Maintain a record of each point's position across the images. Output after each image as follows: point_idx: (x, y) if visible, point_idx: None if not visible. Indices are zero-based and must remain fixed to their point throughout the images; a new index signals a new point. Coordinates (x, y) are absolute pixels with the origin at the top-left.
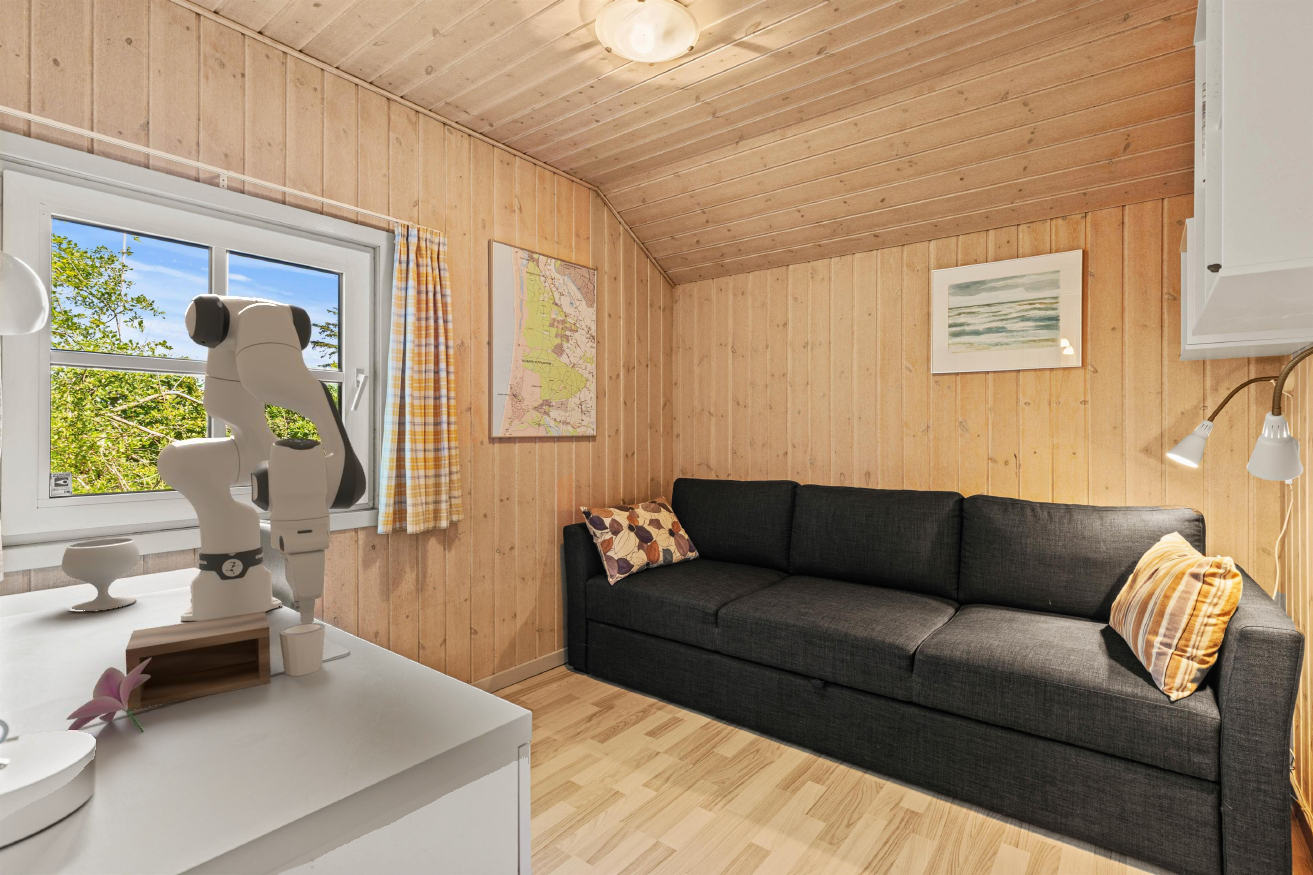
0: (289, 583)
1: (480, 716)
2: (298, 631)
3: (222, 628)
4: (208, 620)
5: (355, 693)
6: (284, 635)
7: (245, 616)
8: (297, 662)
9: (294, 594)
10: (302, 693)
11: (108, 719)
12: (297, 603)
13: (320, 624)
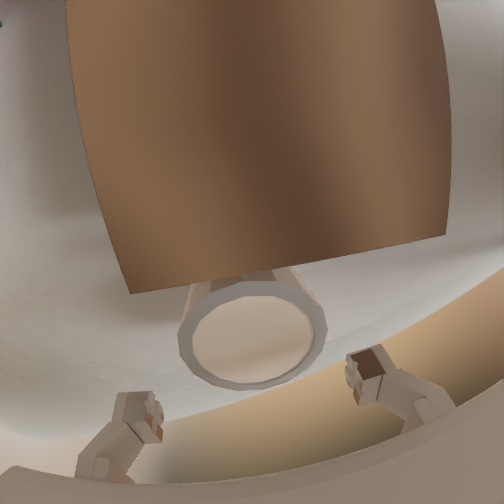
0: (327, 486)
1: (11, 423)
2: (226, 337)
3: (206, 57)
4: (422, 4)
5: (63, 355)
6: (198, 301)
7: (414, 156)
8: None
9: (76, 486)
10: (75, 281)
11: None
12: (358, 381)
13: (274, 381)
